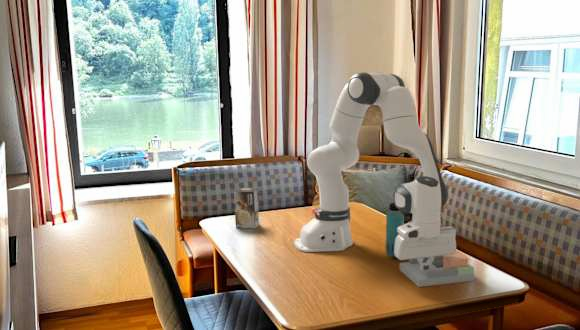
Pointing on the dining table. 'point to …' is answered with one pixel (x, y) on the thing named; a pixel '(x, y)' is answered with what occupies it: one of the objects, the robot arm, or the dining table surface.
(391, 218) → the beverage bottle
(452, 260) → the block
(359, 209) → the dining table surface
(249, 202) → the coffee box
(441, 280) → the tray
